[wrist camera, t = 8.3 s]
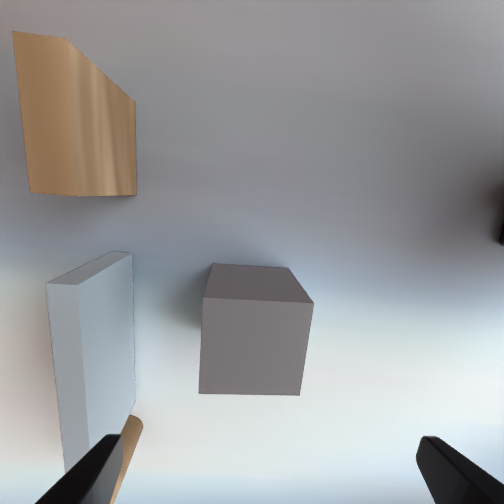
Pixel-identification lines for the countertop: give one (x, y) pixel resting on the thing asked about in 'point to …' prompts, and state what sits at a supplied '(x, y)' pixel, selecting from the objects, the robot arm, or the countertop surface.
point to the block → (253, 331)
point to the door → (93, 351)
